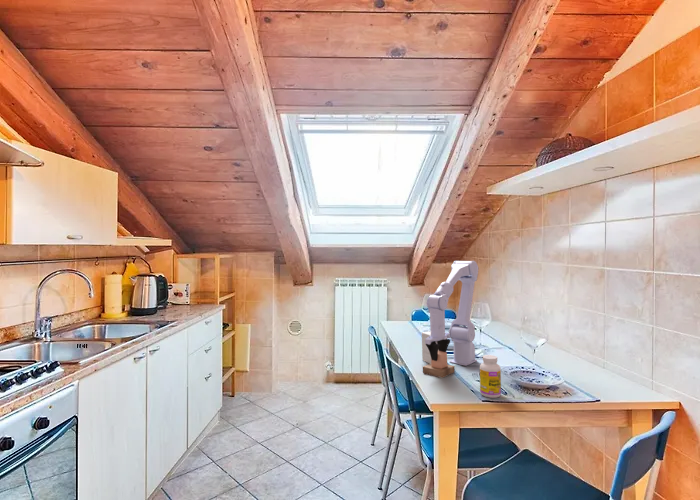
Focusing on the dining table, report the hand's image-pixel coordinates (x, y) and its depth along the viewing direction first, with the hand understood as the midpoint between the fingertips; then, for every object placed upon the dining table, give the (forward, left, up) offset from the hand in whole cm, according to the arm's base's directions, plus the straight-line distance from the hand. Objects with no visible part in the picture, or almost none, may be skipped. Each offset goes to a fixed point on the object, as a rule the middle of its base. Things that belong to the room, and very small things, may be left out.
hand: (438, 358), depth 155 cm
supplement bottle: (+8, +26, -6) cm, 28 cm away
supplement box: (-11, -10, -6) cm, 16 cm away
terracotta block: (0, 0, -3) cm, 3 cm away
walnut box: (0, 0, -6) cm, 6 cm away
